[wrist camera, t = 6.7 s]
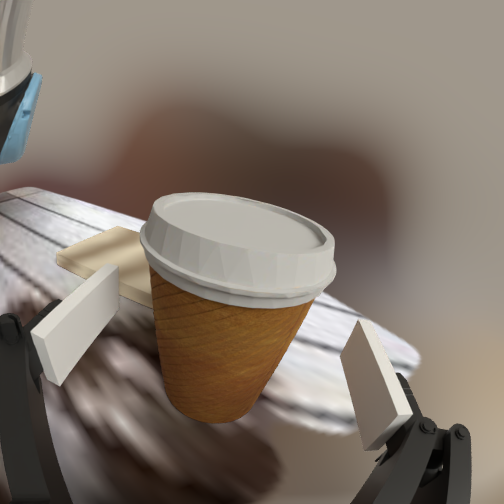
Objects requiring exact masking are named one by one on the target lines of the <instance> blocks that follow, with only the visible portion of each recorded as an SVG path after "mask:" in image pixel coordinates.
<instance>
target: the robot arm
mask: <svg viewBox="0 0 504 504" xmlns="http://www.w3.org/2000/svg"><path fill="white" fill-rule="evenodd" d="M33 2H34V0H0V164H6V163H12V162H16V161H17V160H19V159H20V158H21V157H22V155H23V154H24V151H25V148H26V144H27V140H28V136H29V132H30V128H31V123H32V119H33V115H34V111H35V107H36V103H37V99H38V96H39V92H40V88H41V84H42V75H40V74H37V73H33V74H31V70H32V57H31V56H30V55H29V54H28V53H27V52H26V51H24V50H23V46H24V40H25V35H26V30H27V26H28V21H29V17H30V13H31V9H32V5H33ZM119 308H120V307H119V266H116V265H112V264H109V263H106V264H105V265H104V266H103V267H101V268H100V269H99V270H98V271H97V272H95V273H94V274H93V275H92V276H91V277H90V278H88V279H87V280H86V281H85V282H84V283H83V284H81V285H80V286H79V287H78V288H77V289H76V290H74V291H73V292H72V293H71V294H70V295H69V296H68V297H67V298H65V299H64V300H63V301H62V300H59V299H58V300H56V301H53V302H51V303H49V304H48V305H47V306H46V307H45V308H44V309H43V310H41V311H40V312H39V313H38V315H36V316H35V317H34V318H33V319H32V320H31V321H30V322H28V323H27V324H26V325H25V326H24V327H23V328H22V325H21V321H20V318H19V317H18V316H17V315H15V314H13V313H7V314H3V315H1V316H0V441H1V448H2V454H3V460H4V466H5V471H6V475H7V480H8V484H9V488H10V492H11V496H12V501H11V502H10V503H9V504H73V502H72V500H71V497H70V495H69V492H68V490H67V487H66V484H65V481H64V479H63V476H62V473H61V470H60V467H59V463H58V460H57V457H56V453H55V449H54V446H53V442H52V438H51V434H50V429H49V425H48V420H47V415H46V409H45V403H44V397H43V390H42V383H41V378H40V376H39V375H40V374H41V373H42V372H43V371H44V373H45V376H46V378H47V380H49V381H51V382H53V383H55V384H56V385H58V386H60V385H61V384H62V383H63V381H64V380H65V378H66V377H67V376H68V374H69V373H70V371H71V370H72V369H73V367H74V366H75V365H76V363H77V362H78V361H79V359H80V358H81V357H82V355H83V354H84V353H85V351H86V350H87V349H88V347H89V346H90V345H91V343H92V342H93V341H94V340H95V338H96V337H97V336H98V335H99V333H100V332H101V331H102V329H103V328H104V327H105V326H106V324H107V323H108V322H109V321H110V319H111V318H112V317H113V316H114V315H115V313H116V312H117V311H118V310H119ZM340 359H341V362H342V366H343V369H344V373H345V377H346V380H347V384H348V388H349V392H350V395H351V399H352V403H353V407H354V411H355V415H356V419H357V423H358V427H359V432H360V436H361V440H362V444H363V449H364V451H373V450H379V449H380V448H381V447H382V446H383V445H384V444H385V443H386V446H387V450H386V451H385V452H384V453H383V454H381V455H380V456H379V457H378V458H377V459H376V460H375V462H377V461H378V460H379V459H380V460H379V462H378V463H377V465H376V467H375V468H374V470H373V471H372V473H371V474H370V476H369V478H368V479H367V481H366V482H365V484H364V485H363V487H362V488H361V490H360V491H359V492H358V494H357V495H356V497H355V498H354V499H353V501H352V502H351V503H350V504H470V496H471V437H470V433H469V431H468V429H467V428H466V427H465V426H464V425H462V424H454V425H453V426H452V427H451V428H450V429H449V430H444V429H439V428H437V425H436V424H435V423H434V421H432V420H431V419H429V418H427V417H423V416H422V413H421V411H420V409H419V407H418V404H417V402H416V400H415V398H414V396H413V393H412V391H411V389H410V387H409V385H408V382H407V380H406V379H405V378H404V377H403V376H402V375H401V373H395V371H394V369H393V367H392V365H391V363H390V360H389V358H388V356H387V354H386V352H385V350H384V348H383V346H382V344H381V342H380V340H379V338H378V335H377V333H376V331H375V329H374V327H373V325H372V324H371V322H370V321H368V320H361V319H358V321H357V323H356V325H355V327H354V329H353V331H352V333H351V335H350V337H349V339H348V341H347V343H346V345H345V347H344V349H343V351H342V353H341V355H340ZM442 465H443V468H442Z"/></svg>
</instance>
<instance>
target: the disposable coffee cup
mask: <svg viewBox="0 0 504 504" xmlns="http://www.w3.org/2000/svg"><path fill="white" fill-rule="evenodd" d="M140 243H141V245H142V247H143V249H144V253H145V257H146V259H147V261H148V263H149V272H150V284H151V295H152V305H153V310H154V312H153V314H154V319H155V321H154V322H155V327H156V329H157V330H156V336H157V344H158V351H159V358H160V360H161V367H162V373H163V378H164V384H165V390H166V394H167V396H168V398H169V399H170V401H171V403H172V404H173V405H174V406H175V407H176V409H178V410H179V411H180V412H182V413H183V414H184V415H186V416H188V417H190V418H192V419H195V420H198V421H201V422H206V423H226V422H231V421H234V420H236V419H239V418H241V417H242V416H243V415H245V414H246V413H247V412H248V411H249V410H250V409H251V408H252V406H253V404H254V403H255V401H256V400H257V398H258V397H259V395H260V393H261V392H262V390H263V388H264V387H265V385H266V384H267V382H268V381H269V379H270V377H271V376H272V374H273V373H274V371H275V369H276V367H277V366H278V364H279V362H280V361H281V359H282V357H283V355H284V354H285V352H286V351H287V349H288V347H289V345H290V343H291V341H292V340H293V338H294V337H295V335H296V333H297V331H298V329H299V328H300V326H301V324H302V322H303V320H304V318H305V317H306V315H307V313H308V311H309V309H310V307H311V305H312V303H313V301H314V299H315V298H316V297H318V296H319V295H320V294H321V292H322V291H323V290H324V289H325V287H327V286H328V285H329V284H330V283H331V282H332V281H333V279H334V277H335V275H336V265H335V262H334V261H333V256H334V244H335V243H334V238H333V236H332V235H331V234H330V233H329V231H327V230H326V229H325V228H324V227H322V226H321V225H319V224H317V223H315V222H314V221H312V220H310V219H308V218H306V217H304V216H301V215H299V214H297V213H295V212H292V211H289V210H286V209H284V208H281V207H278V206H275V205H271V204H267V203H263V202H259V201H255V200H251V199H247V198H241V197H235V196H229V195H222V194H212V193H179V194H172V195H167V196H164V197H161V198H159V199H158V200H156V201H155V203H154V205H153V208H152V211H151V213H150V217H149V219H148V221H147V222H146V223H145V224H144V225H143V226H142V227H141V230H140Z"/></svg>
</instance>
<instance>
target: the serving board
mask: <svg viewBox="0 0 504 504" xmlns="http://www.w3.org/2000/svg"><path fill="white" fill-rule="evenodd" d="M56 255H57V265H59V266H61V267H63V268H65V269H66V270H68V271H70V272H72V273H74V274H76V275H78V276H80V277H82V278H84V279H88V278H90V277H91V276H92V275H93V274H94V273H95V272H97V271H98V270H99V269H100V268H101V267H103V266H104V265H105V264H106V263H109V264H112V265H116V266H119V295H121V296H123V297H126V298H128V299H130V300H133V301H135V302H137V303H140V304H142V305H144V306H147V307H149V308H152V309H153V305H152V295H151V284H150V272H149V263H148V261H147V259H146V257H145V253H144V249H143V247H142V245H141V243H140V233H139V232H135V231H132V230H129V229H126V228H123V227H119V226H117V227H114V228H112V229H109V230H107V231H105V232H102V233H100V234H97V235H95V236H93V237H90V238H88V239H86V240H83V241H81V242H79V243H77V244H74V245H72V246H70V247H68V248H65V249H63V250H61V251H59V252H57V253H56Z"/></svg>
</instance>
